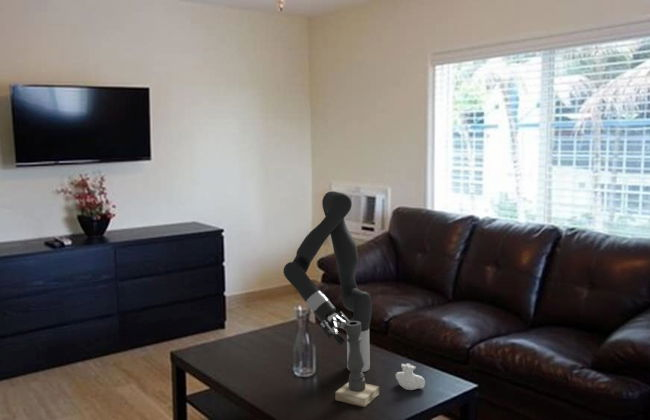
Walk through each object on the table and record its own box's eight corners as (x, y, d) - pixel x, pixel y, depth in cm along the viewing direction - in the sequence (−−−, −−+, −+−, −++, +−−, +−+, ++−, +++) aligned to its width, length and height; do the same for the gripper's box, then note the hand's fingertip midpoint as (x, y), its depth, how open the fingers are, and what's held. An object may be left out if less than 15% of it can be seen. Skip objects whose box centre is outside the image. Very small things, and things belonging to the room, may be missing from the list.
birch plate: (350, 387, 228) (350, 380, 228) (379, 394, 222) (379, 386, 222) (335, 399, 218) (335, 392, 218) (364, 407, 212) (364, 399, 212)
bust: (395, 390, 230) (387, 375, 223) (401, 373, 235) (393, 357, 228) (424, 397, 224) (416, 381, 217) (430, 379, 228) (423, 363, 221)
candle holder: (351, 392, 217) (347, 327, 213) (346, 385, 223) (342, 322, 219) (367, 389, 219) (364, 324, 215) (362, 382, 225) (358, 319, 221)
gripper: (324, 307, 230) (351, 340, 225) (304, 316, 217) (332, 351, 213) (336, 295, 226) (363, 328, 222) (316, 304, 214) (345, 339, 210)
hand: (348, 339), depth 217 cm, fingers open, 8 cm apart
